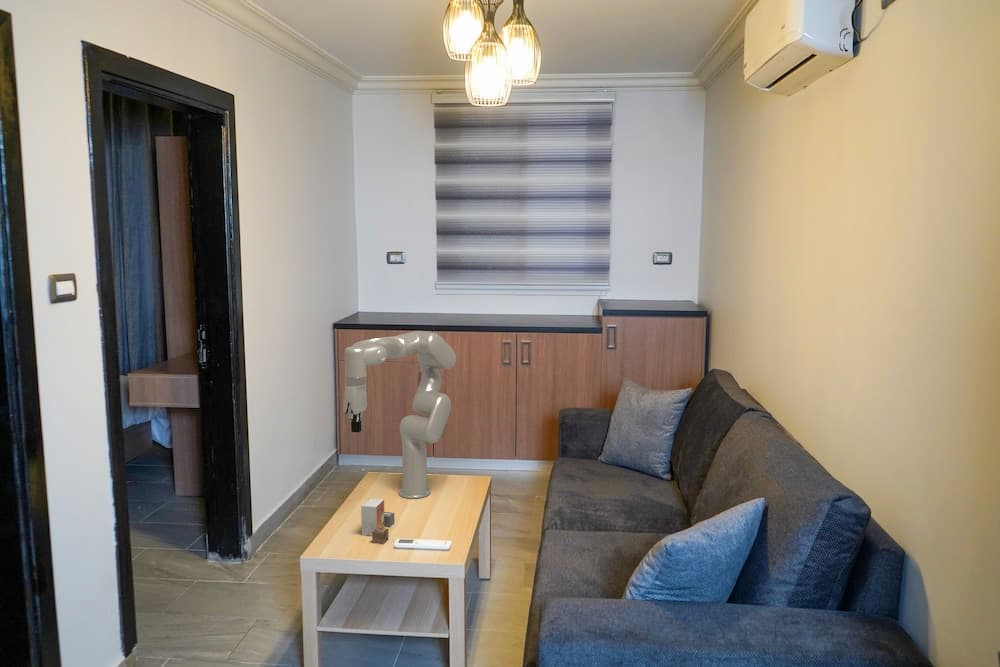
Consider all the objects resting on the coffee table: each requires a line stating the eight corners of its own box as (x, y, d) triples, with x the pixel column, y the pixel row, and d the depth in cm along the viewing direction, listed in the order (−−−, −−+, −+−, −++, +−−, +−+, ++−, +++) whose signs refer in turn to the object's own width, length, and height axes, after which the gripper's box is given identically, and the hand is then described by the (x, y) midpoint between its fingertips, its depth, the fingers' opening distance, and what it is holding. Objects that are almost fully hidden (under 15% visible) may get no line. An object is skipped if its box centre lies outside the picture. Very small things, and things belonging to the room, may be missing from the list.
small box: (376, 536, 254) (376, 507, 253) (361, 535, 256) (360, 505, 254) (384, 527, 262) (384, 499, 261) (369, 526, 263) (369, 497, 262)
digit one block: (384, 522, 267) (384, 511, 267) (394, 523, 266) (394, 512, 266) (379, 526, 264) (379, 515, 263) (389, 527, 263) (389, 516, 262)
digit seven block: (377, 538, 253) (377, 526, 252) (388, 540, 252) (388, 528, 251) (372, 543, 249) (372, 531, 249) (383, 544, 248) (383, 532, 248)
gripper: (355, 377, 273) (356, 425, 275) (335, 384, 259) (336, 436, 261) (374, 378, 271) (374, 427, 273) (355, 386, 257) (356, 437, 259)
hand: (356, 431), depth 267 cm, fingers closed
